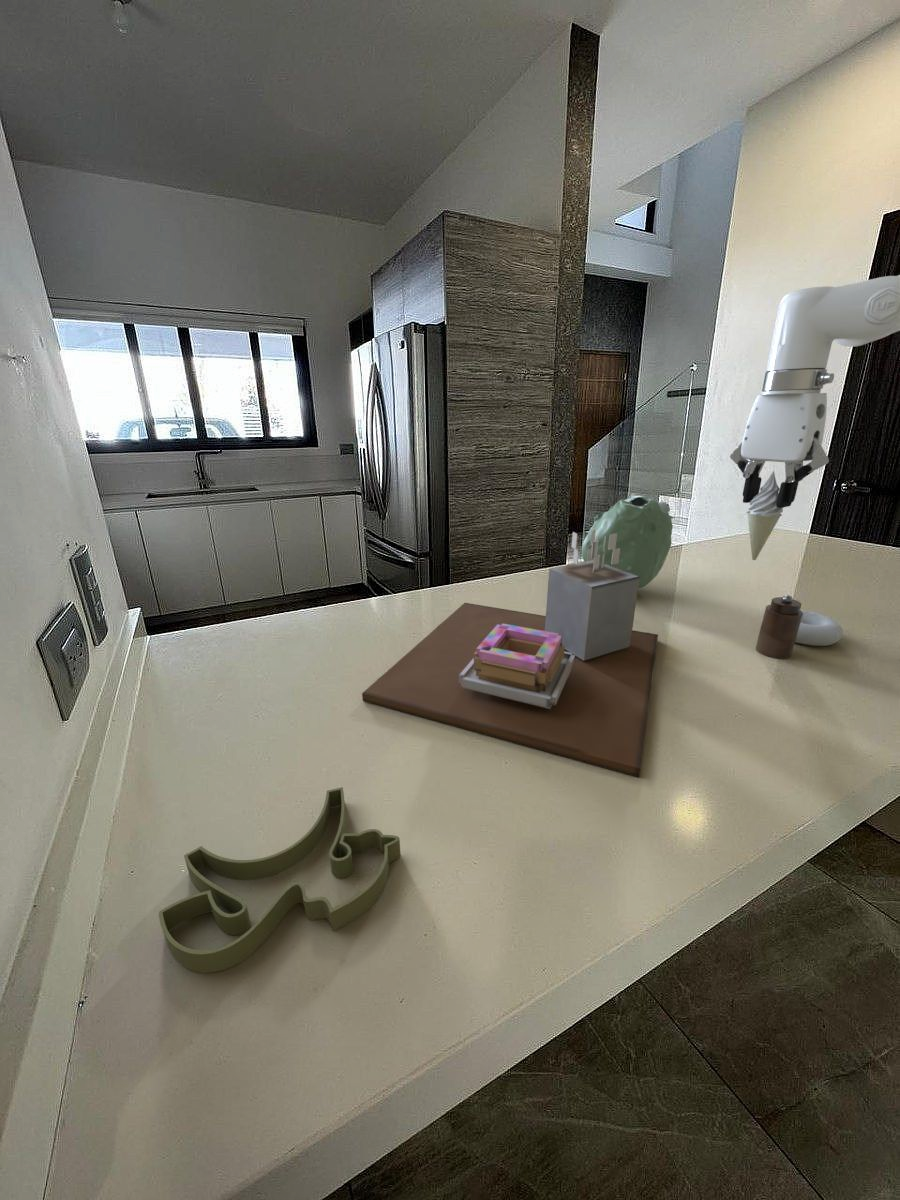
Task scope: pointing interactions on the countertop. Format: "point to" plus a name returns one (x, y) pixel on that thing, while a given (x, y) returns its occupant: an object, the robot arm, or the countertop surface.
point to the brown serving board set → (540, 669)
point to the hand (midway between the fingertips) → (766, 503)
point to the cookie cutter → (286, 900)
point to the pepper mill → (779, 627)
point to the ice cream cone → (763, 515)
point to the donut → (818, 630)
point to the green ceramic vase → (634, 536)
